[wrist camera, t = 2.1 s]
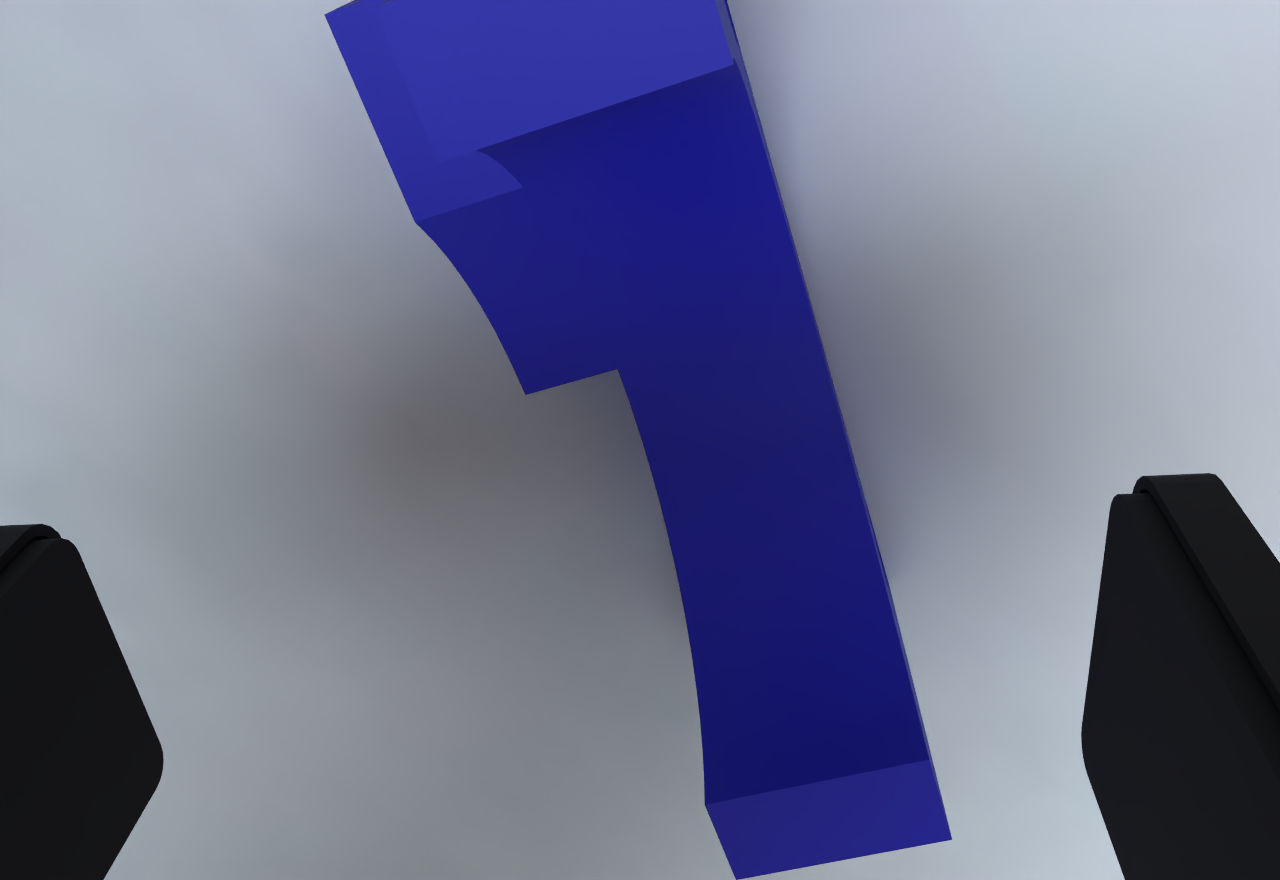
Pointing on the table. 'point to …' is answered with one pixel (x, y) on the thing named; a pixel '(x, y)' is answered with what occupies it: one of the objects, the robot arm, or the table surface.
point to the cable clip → (675, 371)
